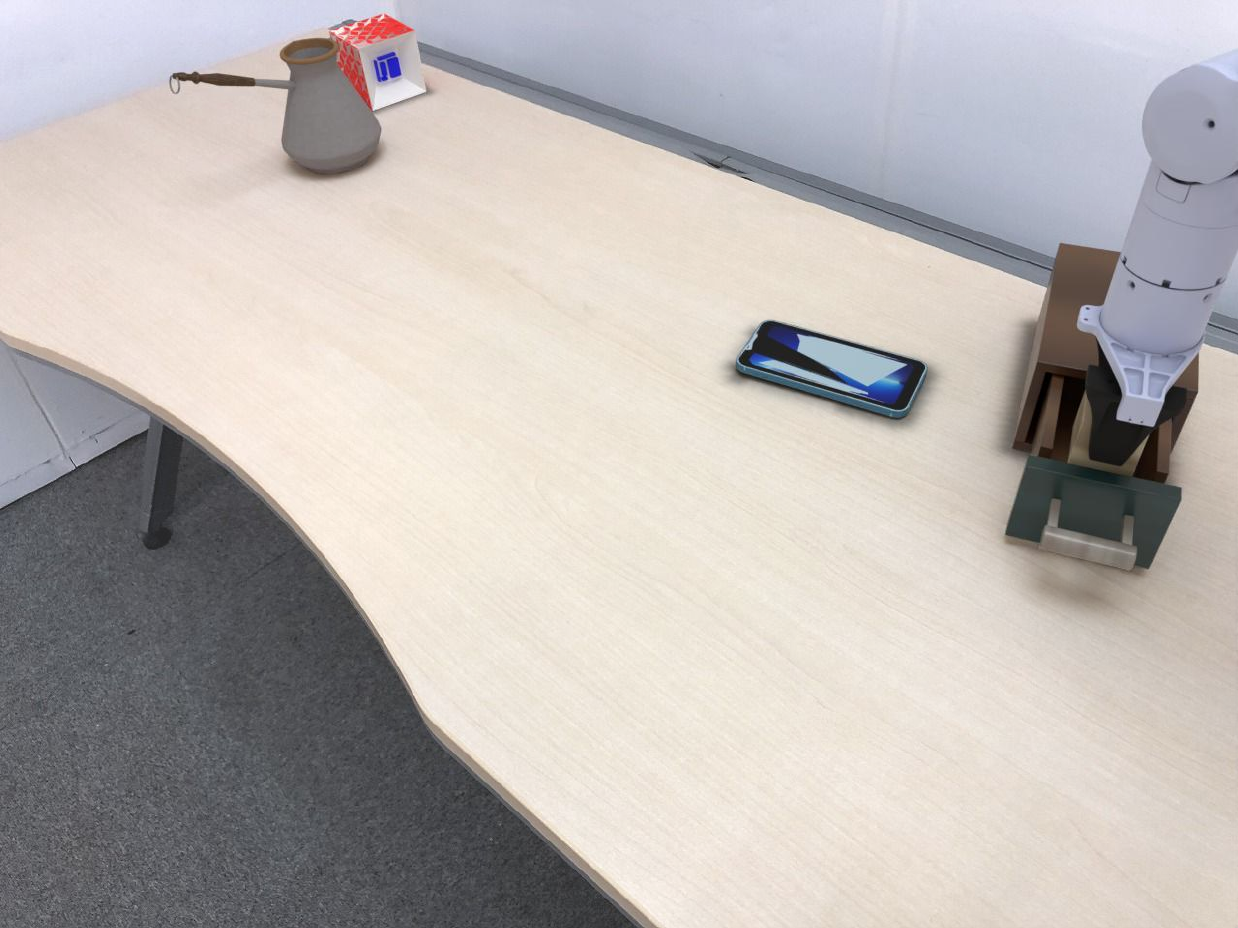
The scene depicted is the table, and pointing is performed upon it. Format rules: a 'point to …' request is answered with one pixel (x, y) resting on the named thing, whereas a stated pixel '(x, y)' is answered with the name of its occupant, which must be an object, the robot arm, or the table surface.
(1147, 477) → the drawer
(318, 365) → the table surface
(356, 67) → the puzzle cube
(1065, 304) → the cabinet
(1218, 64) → the robot arm
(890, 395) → the smartphone
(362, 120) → the coffee pot
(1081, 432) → the block
